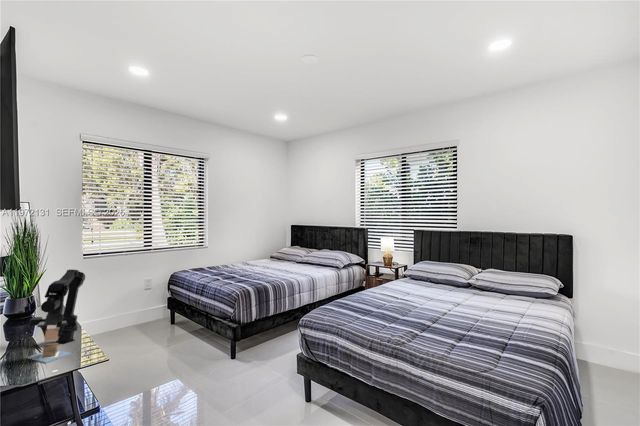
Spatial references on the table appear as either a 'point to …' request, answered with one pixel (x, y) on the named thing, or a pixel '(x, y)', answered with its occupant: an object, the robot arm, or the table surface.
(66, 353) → the board
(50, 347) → the walnut block
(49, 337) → the terracotta block
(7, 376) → the table surface
